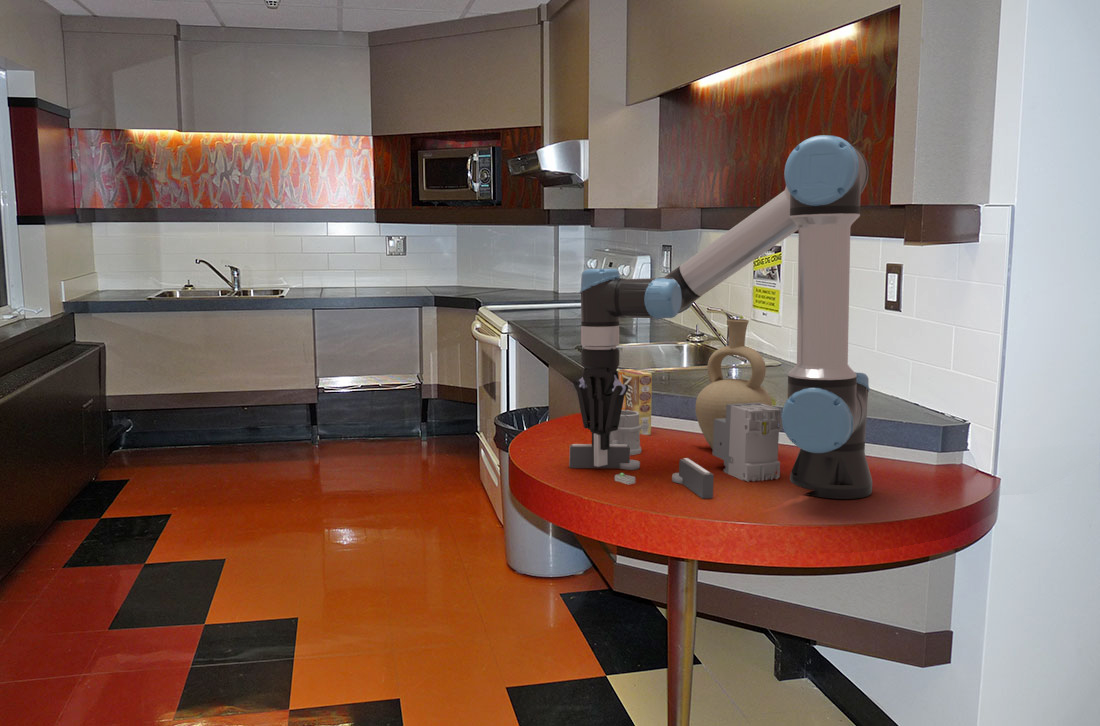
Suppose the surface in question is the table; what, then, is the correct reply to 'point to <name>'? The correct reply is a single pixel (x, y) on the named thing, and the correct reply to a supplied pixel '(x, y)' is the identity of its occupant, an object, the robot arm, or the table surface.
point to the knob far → (615, 455)
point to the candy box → (638, 396)
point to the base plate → (624, 478)
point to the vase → (730, 381)
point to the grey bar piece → (694, 478)
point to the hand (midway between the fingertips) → (600, 465)
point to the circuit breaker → (749, 441)
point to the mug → (628, 432)
